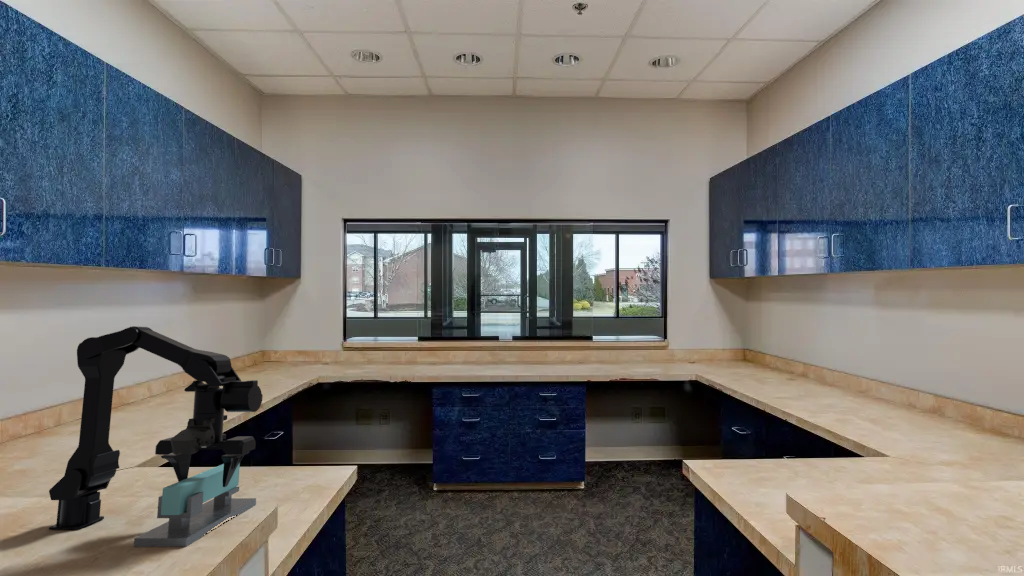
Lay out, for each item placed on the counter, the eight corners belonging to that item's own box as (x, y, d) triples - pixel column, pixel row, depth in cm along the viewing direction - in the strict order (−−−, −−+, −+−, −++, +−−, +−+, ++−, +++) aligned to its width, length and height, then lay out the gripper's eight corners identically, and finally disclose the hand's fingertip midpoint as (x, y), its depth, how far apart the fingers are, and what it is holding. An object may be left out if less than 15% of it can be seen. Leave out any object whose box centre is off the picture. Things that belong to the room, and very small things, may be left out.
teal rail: (160, 515, 93) (162, 488, 94) (223, 485, 113) (225, 463, 114) (178, 515, 93) (180, 488, 94) (238, 485, 113) (239, 463, 114)
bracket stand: (133, 546, 91) (137, 502, 92) (214, 504, 115) (216, 470, 116) (185, 546, 91) (188, 502, 92) (255, 504, 114) (257, 469, 115)
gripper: (137, 418, 98) (130, 498, 96) (228, 417, 97) (223, 498, 95) (176, 410, 109) (171, 482, 107) (258, 410, 108) (254, 482, 106)
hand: (203, 486), depth 104 cm, fingers open, 9 cm apart
